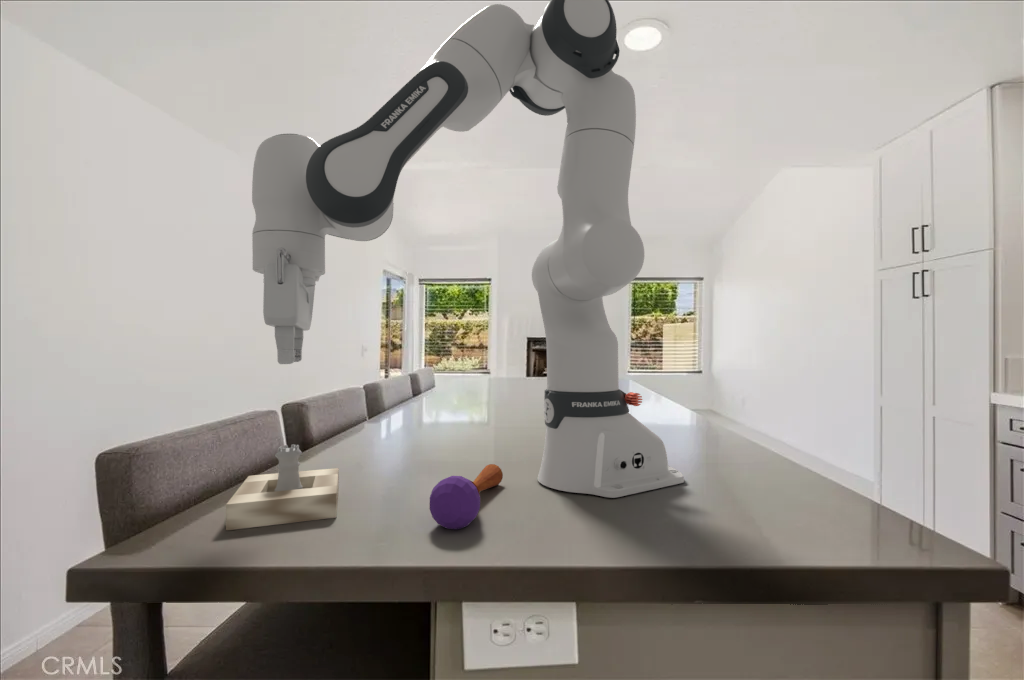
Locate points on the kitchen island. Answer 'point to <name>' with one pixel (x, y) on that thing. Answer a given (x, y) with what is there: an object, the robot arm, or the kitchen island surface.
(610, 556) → the kitchen island surface
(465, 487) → the purple maraca
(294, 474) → the rook chess piece
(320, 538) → the kitchen island surface
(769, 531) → the kitchen island surface
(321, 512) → the square wooden frame
